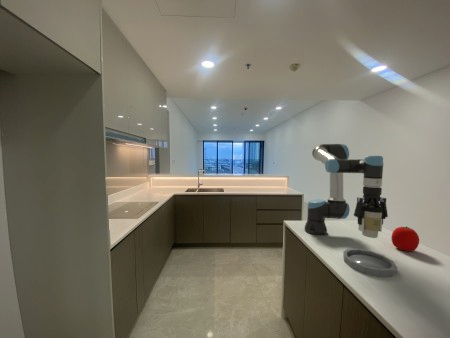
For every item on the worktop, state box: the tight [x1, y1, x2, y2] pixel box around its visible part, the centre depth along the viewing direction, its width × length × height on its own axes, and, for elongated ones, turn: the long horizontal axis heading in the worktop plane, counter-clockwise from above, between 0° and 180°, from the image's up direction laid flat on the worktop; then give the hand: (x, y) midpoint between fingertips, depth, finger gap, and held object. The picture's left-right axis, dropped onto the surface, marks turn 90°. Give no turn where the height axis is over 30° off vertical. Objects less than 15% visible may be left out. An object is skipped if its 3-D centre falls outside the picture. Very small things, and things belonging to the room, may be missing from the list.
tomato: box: [390, 226, 420, 252], centre depth 118 cm, size 13×11×14 cm
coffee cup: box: [361, 205, 384, 239], centre depth 100 cm, size 10×10×15 cm
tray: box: [342, 248, 398, 278], centre depth 102 cm, size 21×21×3 cm
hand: (369, 230), depth 100 cm, fingers closed on coffee cup, 9 cm apart
